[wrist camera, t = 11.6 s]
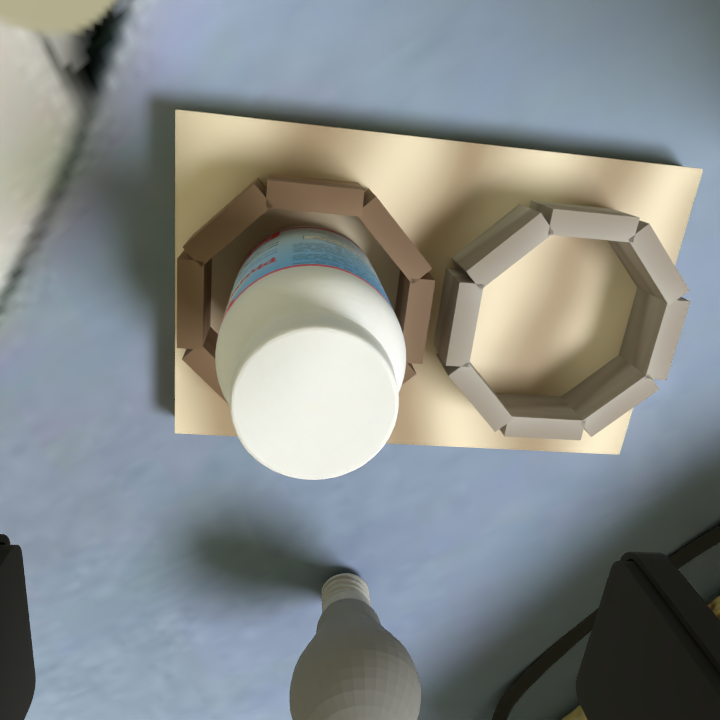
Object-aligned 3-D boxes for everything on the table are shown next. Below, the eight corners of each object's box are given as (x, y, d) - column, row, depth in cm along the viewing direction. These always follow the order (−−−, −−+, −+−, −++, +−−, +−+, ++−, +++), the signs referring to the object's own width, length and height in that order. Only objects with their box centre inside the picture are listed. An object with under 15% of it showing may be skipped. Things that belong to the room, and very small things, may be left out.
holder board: (683, 166, 28) (741, 174, 24) (605, 440, 33) (644, 481, 30) (182, 109, 25) (162, 109, 22) (180, 418, 30) (164, 461, 27)
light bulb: (416, 563, 35) (459, 726, 26) (365, 639, 37) (388, 817, 28) (321, 527, 34) (331, 685, 24) (272, 607, 35) (264, 784, 26)
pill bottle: (244, 210, 26) (211, 279, 15) (389, 236, 27) (450, 316, 16) (227, 348, 28) (187, 490, 17) (362, 366, 29) (401, 512, 18)
